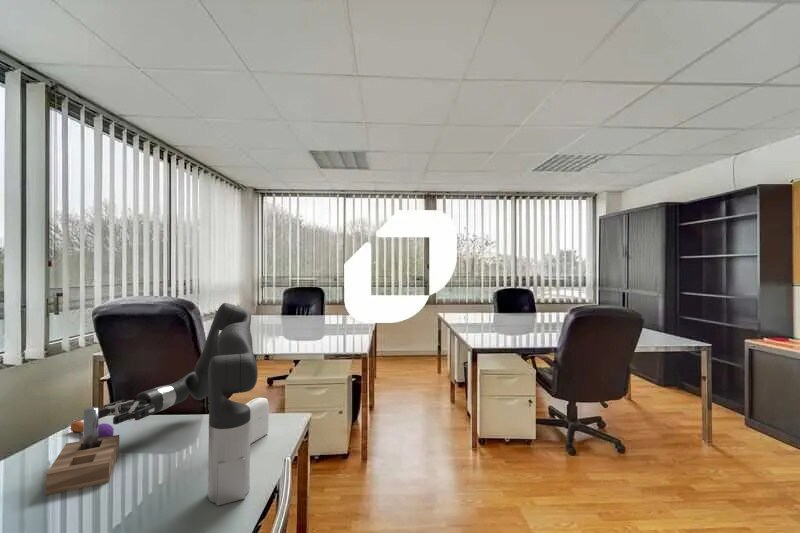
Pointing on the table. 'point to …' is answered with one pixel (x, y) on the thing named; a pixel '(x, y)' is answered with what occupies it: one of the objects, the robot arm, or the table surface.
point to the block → (82, 465)
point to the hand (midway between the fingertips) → (103, 418)
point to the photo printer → (258, 418)
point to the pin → (90, 428)
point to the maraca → (103, 429)
